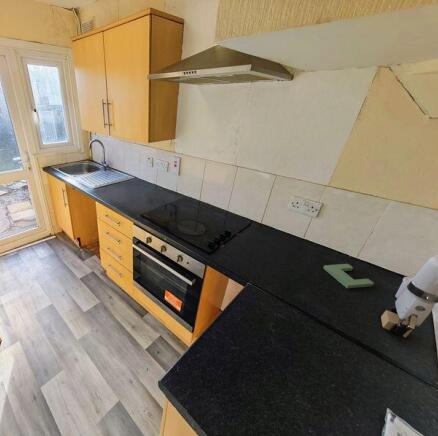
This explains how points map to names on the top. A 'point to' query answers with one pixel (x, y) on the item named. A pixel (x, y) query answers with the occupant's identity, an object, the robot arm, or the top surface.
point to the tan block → (392, 321)
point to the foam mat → (346, 276)
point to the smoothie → (403, 286)
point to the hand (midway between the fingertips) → (393, 325)
